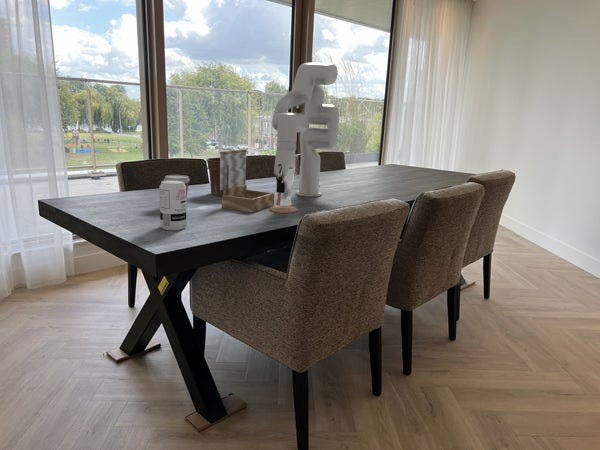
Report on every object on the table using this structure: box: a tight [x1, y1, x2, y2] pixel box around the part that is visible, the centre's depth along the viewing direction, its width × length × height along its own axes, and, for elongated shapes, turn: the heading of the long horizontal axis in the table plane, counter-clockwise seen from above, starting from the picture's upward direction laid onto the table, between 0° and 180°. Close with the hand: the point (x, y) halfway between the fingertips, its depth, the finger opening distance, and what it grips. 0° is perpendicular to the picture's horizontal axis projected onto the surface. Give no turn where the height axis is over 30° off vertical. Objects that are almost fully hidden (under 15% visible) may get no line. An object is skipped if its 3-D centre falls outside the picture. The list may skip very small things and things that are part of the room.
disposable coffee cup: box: [163, 174, 190, 200], centre depth 174 cm, size 10×10×12 cm
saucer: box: [269, 205, 298, 214], centre depth 180 cm, size 11×11×1 cm
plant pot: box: [206, 157, 238, 197], centre depth 204 cm, size 16×16×16 cm
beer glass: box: [275, 168, 295, 207], centre depth 178 cm, size 7×7×15 cm
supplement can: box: [159, 180, 187, 231], centre depth 144 cm, size 8×8×15 cm
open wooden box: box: [219, 148, 275, 213], centre depth 182 cm, size 18×15×22 cm
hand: (284, 190), depth 178 cm, fingers closed on beer glass, 6 cm apart
